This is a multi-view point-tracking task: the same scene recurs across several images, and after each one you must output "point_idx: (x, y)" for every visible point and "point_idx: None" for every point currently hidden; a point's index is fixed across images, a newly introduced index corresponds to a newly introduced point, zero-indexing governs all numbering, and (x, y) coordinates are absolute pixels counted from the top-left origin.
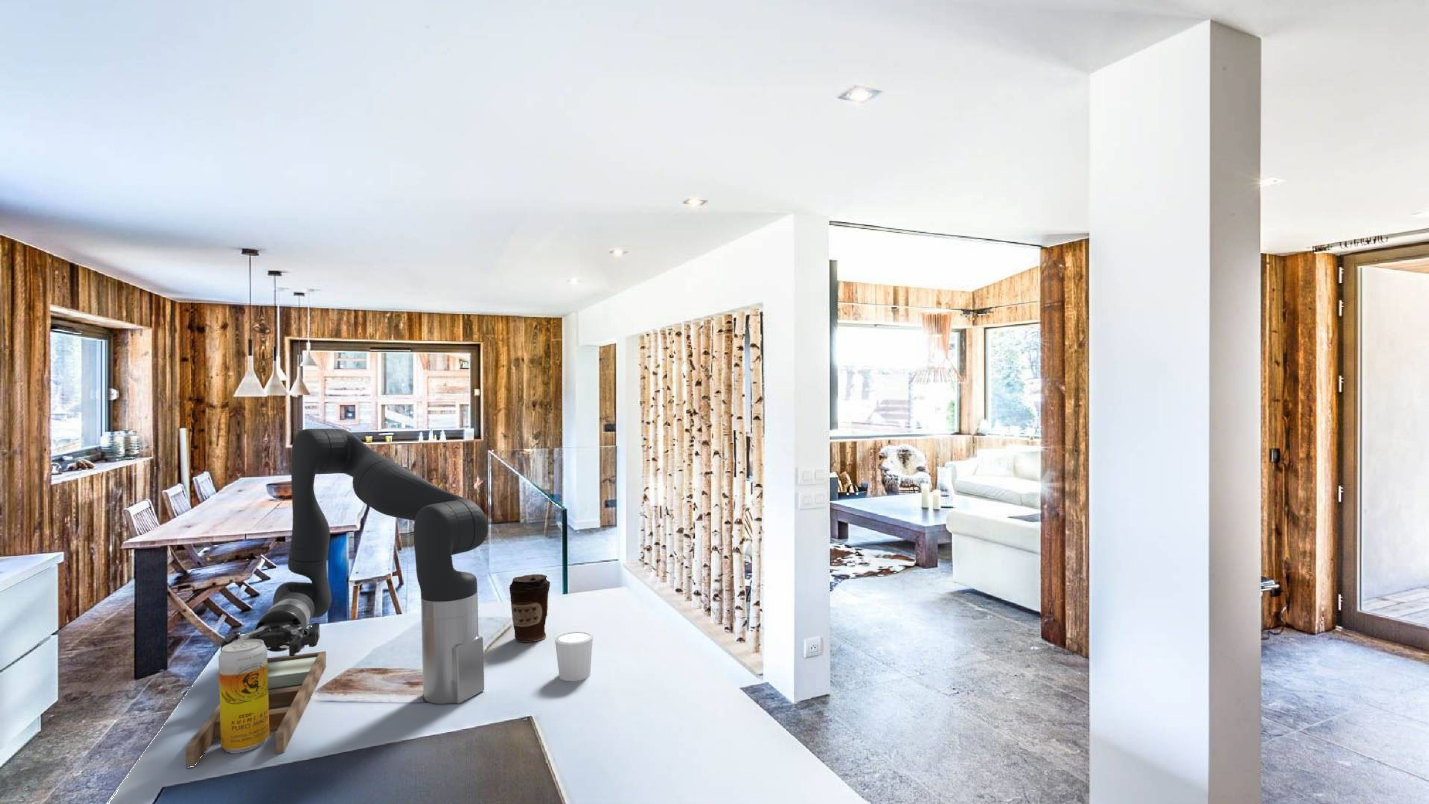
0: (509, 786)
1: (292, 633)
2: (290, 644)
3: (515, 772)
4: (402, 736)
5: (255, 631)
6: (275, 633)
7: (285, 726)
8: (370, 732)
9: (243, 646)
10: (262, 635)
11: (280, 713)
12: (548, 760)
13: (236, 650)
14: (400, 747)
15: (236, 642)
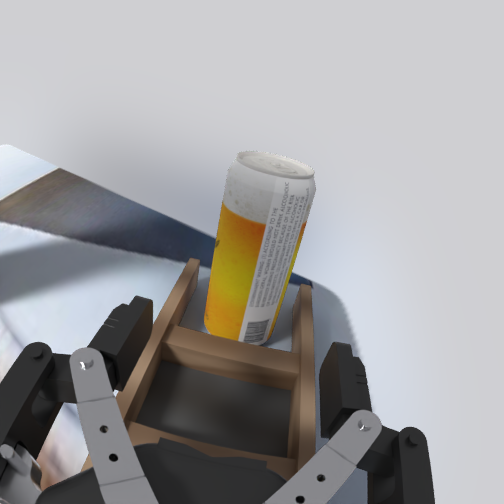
0: (71, 176)
1: (109, 396)
2: (147, 299)
3: (56, 181)
4: (65, 243)
5: (308, 494)
6: (189, 466)
7: (185, 268)
8: (82, 268)
9: (273, 162)
10: (259, 472)
11: (185, 328)
12: (33, 181)
13: (282, 162)
14: (81, 231)
15: (296, 176)
